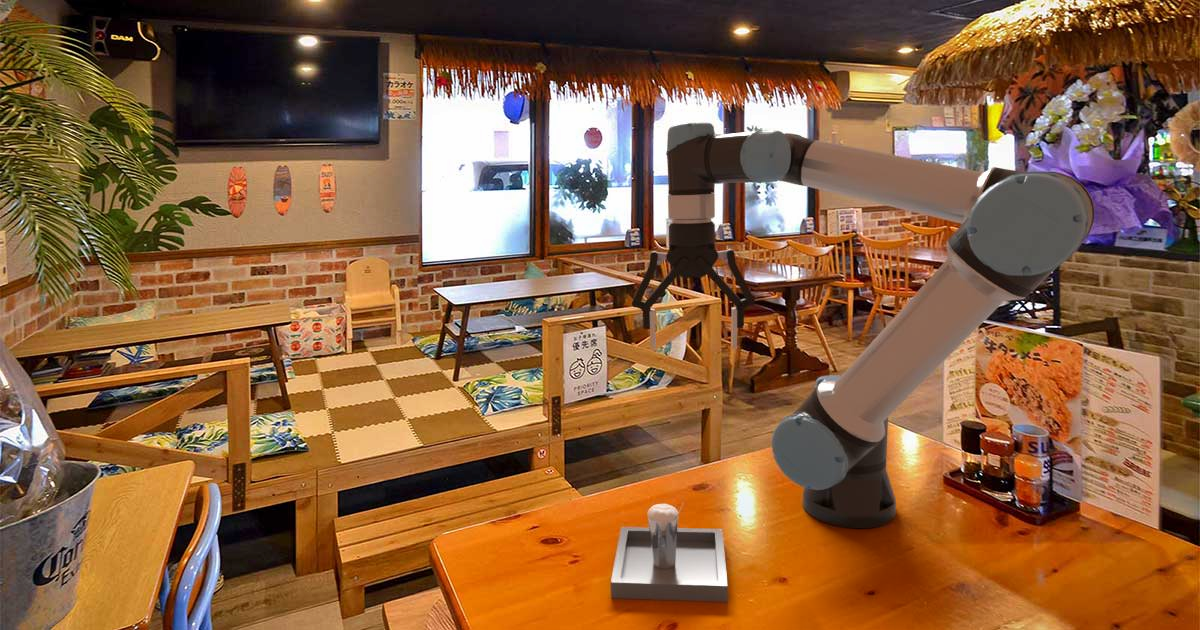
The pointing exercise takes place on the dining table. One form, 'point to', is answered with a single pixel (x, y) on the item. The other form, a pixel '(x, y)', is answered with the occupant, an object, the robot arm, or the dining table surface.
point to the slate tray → (687, 580)
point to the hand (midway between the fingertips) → (693, 347)
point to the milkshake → (663, 534)
